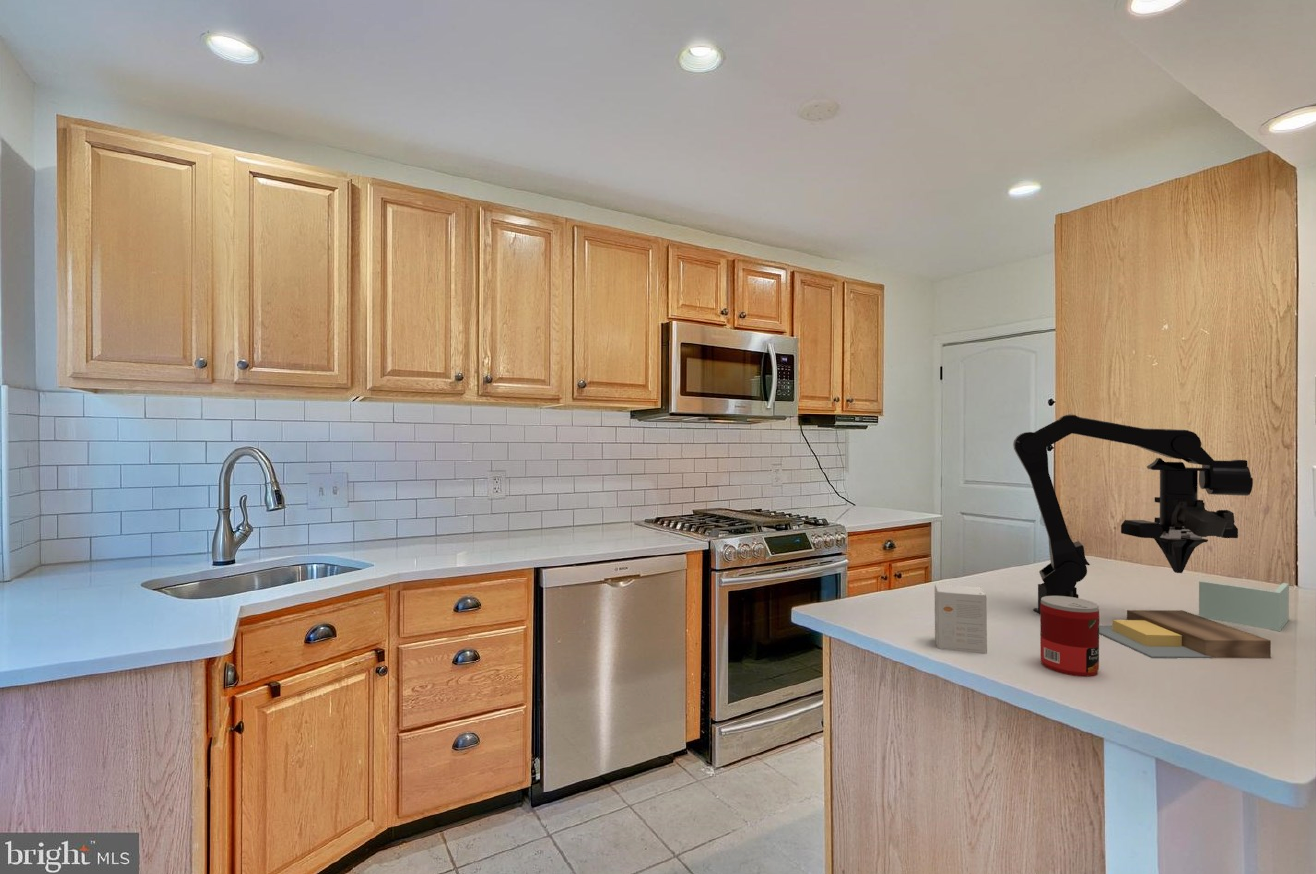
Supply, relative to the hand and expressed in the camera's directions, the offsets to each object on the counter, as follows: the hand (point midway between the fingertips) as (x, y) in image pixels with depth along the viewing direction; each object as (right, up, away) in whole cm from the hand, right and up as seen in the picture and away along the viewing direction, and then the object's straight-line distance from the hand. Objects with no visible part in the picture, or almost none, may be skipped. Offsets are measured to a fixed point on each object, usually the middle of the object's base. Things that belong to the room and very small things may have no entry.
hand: (1178, 572), depth 122 cm
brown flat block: (-3, -11, -7) cm, 13 cm away
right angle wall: (+19, -11, +7) cm, 24 cm away
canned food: (-35, -11, -21) cm, 42 cm away
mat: (-13, -11, -8) cm, 19 cm away
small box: (-48, -11, -10) cm, 51 cm away
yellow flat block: (-12, -11, -7) cm, 17 cm away
